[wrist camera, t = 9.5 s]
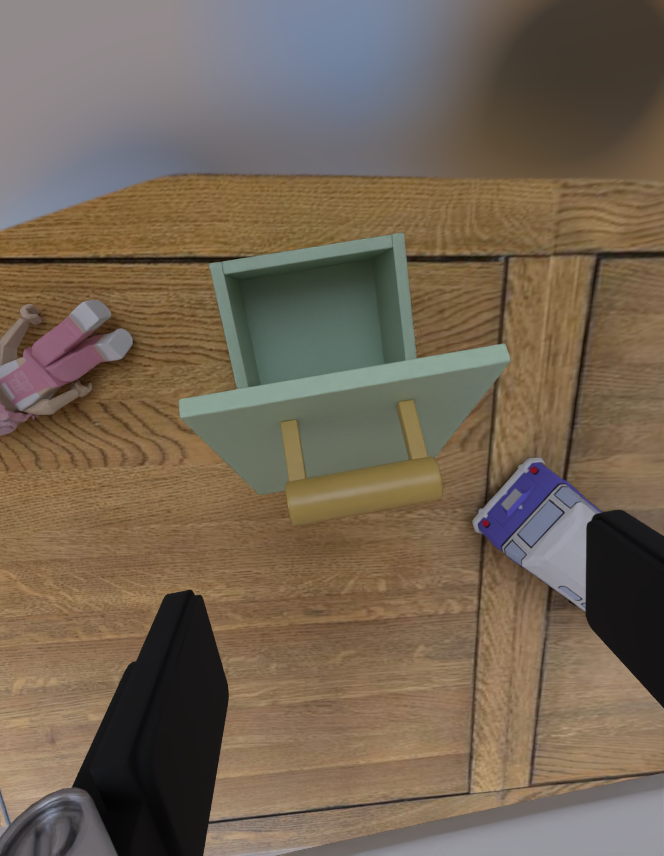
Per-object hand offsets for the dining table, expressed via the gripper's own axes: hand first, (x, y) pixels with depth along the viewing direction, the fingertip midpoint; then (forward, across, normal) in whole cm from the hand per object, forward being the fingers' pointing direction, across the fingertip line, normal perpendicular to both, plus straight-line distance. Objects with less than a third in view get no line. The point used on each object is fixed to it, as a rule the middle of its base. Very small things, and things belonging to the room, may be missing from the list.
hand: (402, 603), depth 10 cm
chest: (+30, 0, -2) cm, 30 cm away
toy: (+30, +22, -6) cm, 38 cm away
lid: (+14, 0, 0) cm, 14 cm away
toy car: (+30, -22, +20) cm, 43 cm away
